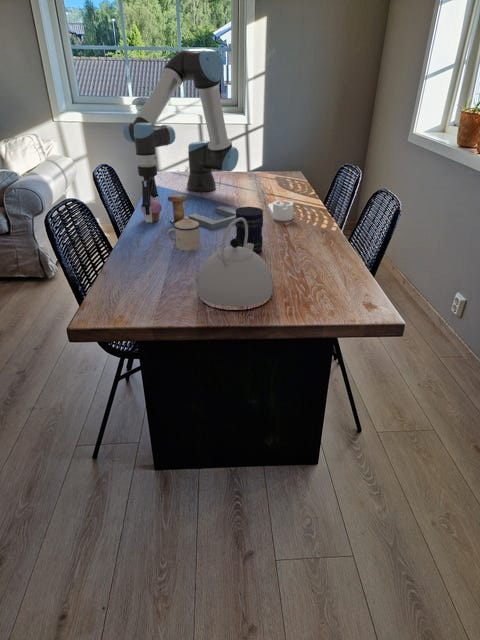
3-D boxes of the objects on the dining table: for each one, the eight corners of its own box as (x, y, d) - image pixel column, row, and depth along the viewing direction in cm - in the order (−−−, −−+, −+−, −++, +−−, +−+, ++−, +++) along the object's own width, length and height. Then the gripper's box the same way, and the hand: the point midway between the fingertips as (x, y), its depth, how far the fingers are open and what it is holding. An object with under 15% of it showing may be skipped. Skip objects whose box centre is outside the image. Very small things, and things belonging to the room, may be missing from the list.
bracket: (294, 220, 193) (295, 205, 190) (274, 221, 192) (275, 206, 189) (284, 207, 210) (285, 193, 207) (266, 207, 209) (267, 193, 206)
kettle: (220, 269, 149) (218, 202, 138) (284, 280, 142) (288, 211, 130) (184, 301, 130) (178, 227, 118) (256, 317, 122) (258, 239, 111)
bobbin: (166, 222, 190) (163, 196, 184) (180, 218, 195) (179, 193, 189) (177, 227, 185) (175, 200, 179) (192, 222, 190) (191, 197, 184)
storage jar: (243, 257, 157) (243, 216, 150) (230, 248, 165) (230, 209, 157) (267, 253, 161) (268, 212, 154) (254, 244, 169) (255, 205, 161)
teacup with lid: (201, 243, 169) (200, 213, 163) (199, 252, 162) (197, 221, 156) (170, 242, 170) (167, 213, 164) (166, 252, 162) (163, 221, 156)
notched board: (188, 221, 192) (187, 215, 190) (222, 211, 204) (222, 205, 202) (212, 230, 182) (212, 224, 181) (246, 219, 194) (246, 213, 193)
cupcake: (141, 220, 193) (138, 197, 187) (161, 218, 195) (159, 195, 190) (144, 226, 185) (141, 203, 180) (164, 224, 188) (162, 201, 182)
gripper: (150, 172, 167) (155, 226, 178) (161, 159, 189) (165, 208, 199) (130, 171, 167) (137, 226, 178) (143, 159, 189) (148, 208, 199)
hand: (152, 217), depth 189 cm, fingers open, 13 cm apart
